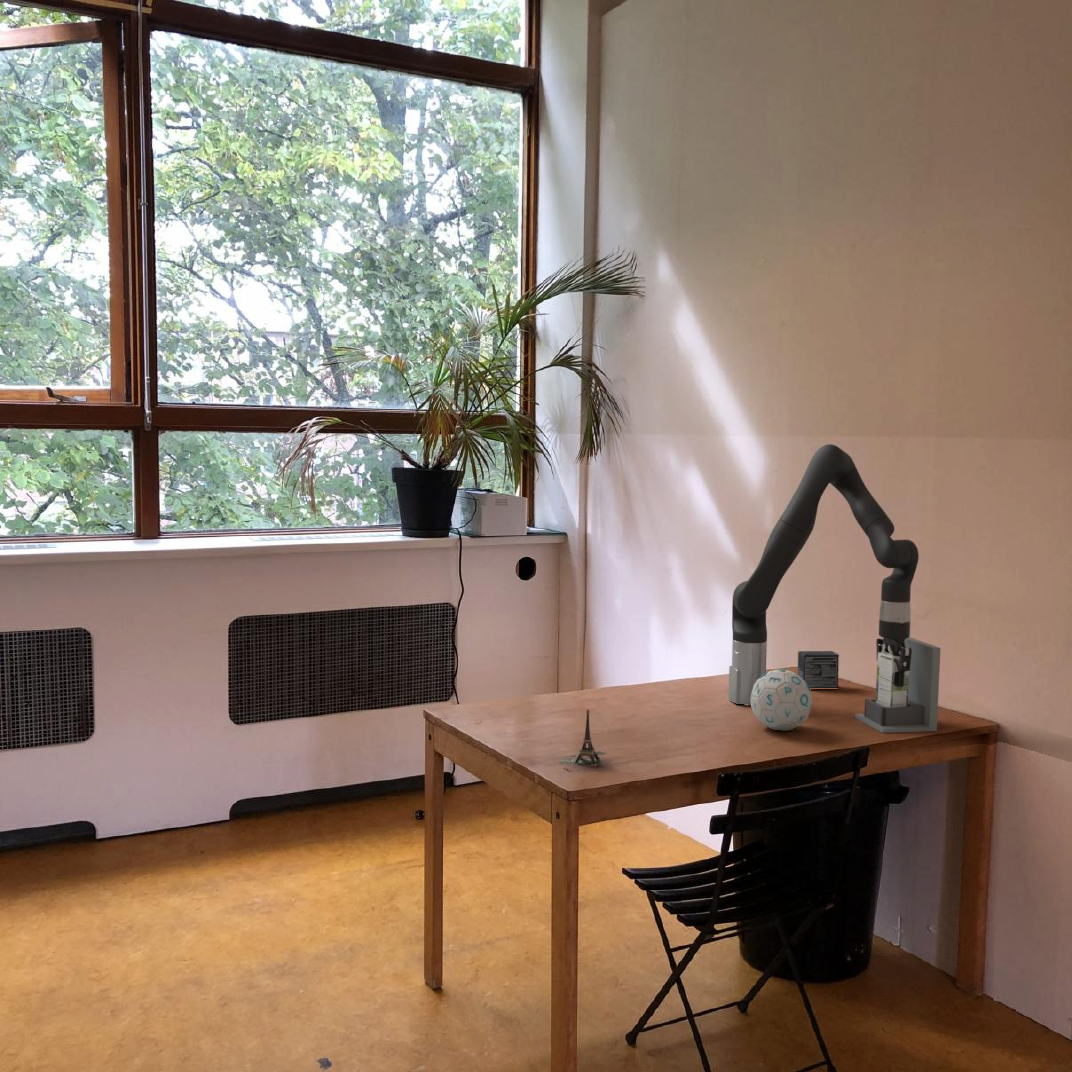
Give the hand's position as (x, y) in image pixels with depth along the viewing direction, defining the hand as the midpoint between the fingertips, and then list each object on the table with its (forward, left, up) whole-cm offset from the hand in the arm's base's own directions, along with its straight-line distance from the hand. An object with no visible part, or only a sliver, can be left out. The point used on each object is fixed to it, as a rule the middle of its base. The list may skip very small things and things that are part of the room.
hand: (892, 683), depth 278 cm
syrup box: (0, 0, -7) cm, 7 cm away
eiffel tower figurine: (-84, -22, -11) cm, 88 cm away
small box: (-1, +42, -11) cm, 43 cm away
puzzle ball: (-30, -1, -11) cm, 32 cm away
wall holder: (+1, 0, -11) cm, 11 cm away
